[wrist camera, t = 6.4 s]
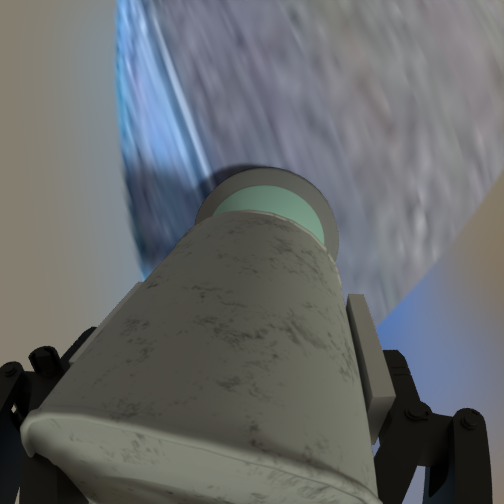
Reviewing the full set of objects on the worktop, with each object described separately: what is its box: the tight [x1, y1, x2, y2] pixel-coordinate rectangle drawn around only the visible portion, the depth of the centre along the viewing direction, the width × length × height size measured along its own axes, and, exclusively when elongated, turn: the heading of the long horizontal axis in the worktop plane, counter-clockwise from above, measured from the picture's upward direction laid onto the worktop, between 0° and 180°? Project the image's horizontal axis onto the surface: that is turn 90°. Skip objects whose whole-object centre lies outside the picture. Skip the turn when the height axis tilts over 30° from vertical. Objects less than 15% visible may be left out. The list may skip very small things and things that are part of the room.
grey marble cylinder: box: [20, 209, 383, 504], centre depth 11 cm, size 10×10×12 cm
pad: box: [195, 167, 339, 262], centre depth 25 cm, size 11×11×2 cm
